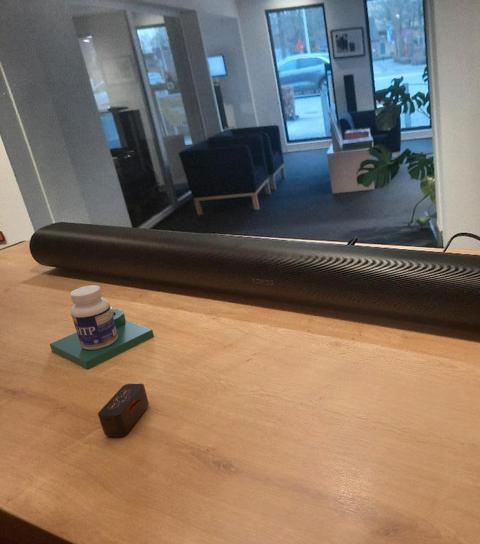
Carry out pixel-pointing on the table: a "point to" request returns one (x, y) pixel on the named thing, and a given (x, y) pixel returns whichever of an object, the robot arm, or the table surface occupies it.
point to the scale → (127, 339)
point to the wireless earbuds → (123, 409)
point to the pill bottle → (92, 318)
